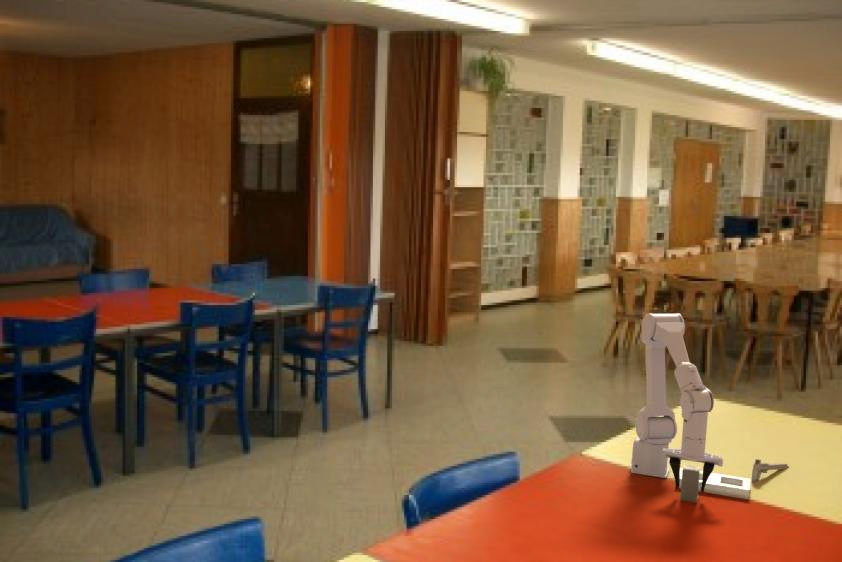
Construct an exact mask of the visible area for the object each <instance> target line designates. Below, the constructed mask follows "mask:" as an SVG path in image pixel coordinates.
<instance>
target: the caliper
mask: <svg viewBox="0 0 842 562" xmlns="http://www.w3.org/2000/svg"><path fill="white" fill-rule="evenodd" d="M787 468H790V466H789V465H788V463H784V462H782V463H781V462H780V463H779V462H778V463H768V462H762V459H759V458H757V459H755V462H754V463H753V467H752V471H751V472H752V473H751V482H754V483H756V482H759V481H760V480H761V477H762V474H768V471H774V470H775V471H776V470H786V469H787Z"/></svg>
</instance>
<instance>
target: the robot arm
mask: <svg viewBox="0 0 842 562" xmlns="http://www.w3.org/2000/svg"><path fill="white" fill-rule="evenodd" d="M640 326H641V328H640V329H641V342H642V343H643V344H645V373H646V375H645V377H646V379H645V380H646V405H644V406H643V407H642V408H641V409H640V410H638V411H637V415H636V416H637V417H636V422H635V433H636V435H637V437H635V438H634V440H633V444H632V445H633V446H632V452H631V453H632V454H631V467H630V473H631V474H637V475H643V476H650V477H656V478H662V479H667V477H668V474H669V473H670V469H671V471H672V473H673V477H674V481H675V482H674V483H675V489H676V488H677V489H680V488H679V483H680V468H681V463H682V461H686V462H687V461H688V462H689V461H690V462H695V463H702V464H703V466H702V471H703V479H702V485H701V492H700V493H705V492H704V488H705V485H706V482H707V480H708V478H709V476H710V474H711V473H713V471H714V469H715V466H717V467H723V464H724V457H723V456H719V455H716V454H715V455H714V454H712V453H711V454H710V453H708V452H706V443H707V430H708V418H709V417H708V415H709V413H712V411H713V410H714V409H713V408H714V406H715V405H714V404H715V399H714V395H713V392H712V391H711V390H710V389H708V388H707V386H706V385H704V384H703V381H702V379H701V376H700V373H699V370H698V368H697V366H696V365H695V364H693V363H691V362H690V358H689V354H688V351H687V347H686V343H685V340H684V334H685V329H686V324H685V320H684V317H683V316H682V314H681V313H678V312H675V313H646V314H645V315H644V317H643V319H642V320H641V325H640ZM666 348H667V350H668V352H669V354H670V356H671V359H672V361H673V363H674V364H675V366H676V367H675V370H674V371H673V373H674V377H675V380H676V382H677V385H678V388H679V391H680V394H681V396H680V399H679V404H680V409H681V418H682V419H683V421H682V422H683V423H682V434H681V445H680V446H681V447H680V449H679V448H669V445H670V443H672V441H673V440H674V439H675V437H676V436H677V434H678V433H677V432H678V424H677V421H676V416H675V411H673V410H672V409H671V408H669V406H668V405H667V388H666V385H667V382H666V379H667V378H666ZM668 459H669V463H668ZM668 464H669V466H670V468H669V467H668Z"/></svg>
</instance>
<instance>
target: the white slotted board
mask: <svg viewBox="0 0 842 562" xmlns="http://www.w3.org/2000/svg"><path fill="white" fill-rule="evenodd" d="M682 470H683V467H680V483H679V488H678V489H681V483H682ZM702 479H703V470H700V479H699V492H700V493H702V492H701V485H702ZM751 481H752V478H747V477H741V476H733V475H728V474H722V473H721V474H720V473H714V472H712V473H711V474H710V476H709V478H708V480H707V482H706V485H705V488H704V492H703V493H706V494H712V495H720V496H725V497H731V498H737V499H743V500H744V499H745V500H749V499H750V489H751ZM699 492H698V493H699Z"/></svg>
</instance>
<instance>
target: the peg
mask: <svg viewBox="0 0 842 562" xmlns="http://www.w3.org/2000/svg"><path fill="white" fill-rule="evenodd" d="M682 468H683V470H682V483H681V488H680V495H679V496H680V498H679V500H680V501H684V502H689V501H690V502H689V503H695V504H697V503H698V499H699V479H700V471H701V467H700V466H695V465H690V464H689V465H688V464H683V467H682Z"/></svg>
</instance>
